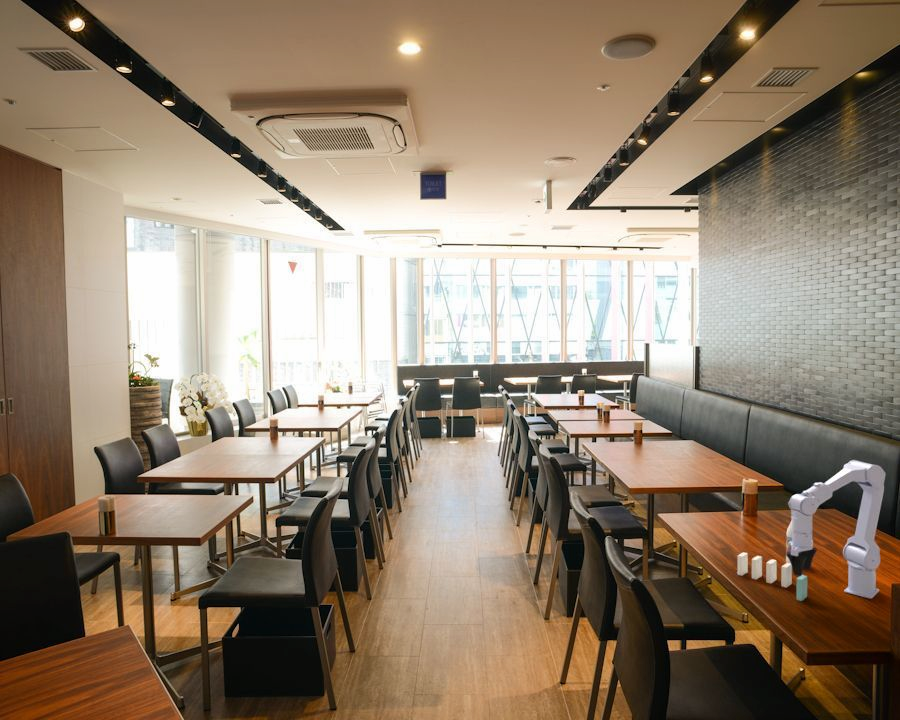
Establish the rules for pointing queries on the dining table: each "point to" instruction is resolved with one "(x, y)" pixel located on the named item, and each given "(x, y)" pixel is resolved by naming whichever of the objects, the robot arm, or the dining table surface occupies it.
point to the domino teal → (801, 588)
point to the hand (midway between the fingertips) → (801, 572)
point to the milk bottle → (788, 539)
